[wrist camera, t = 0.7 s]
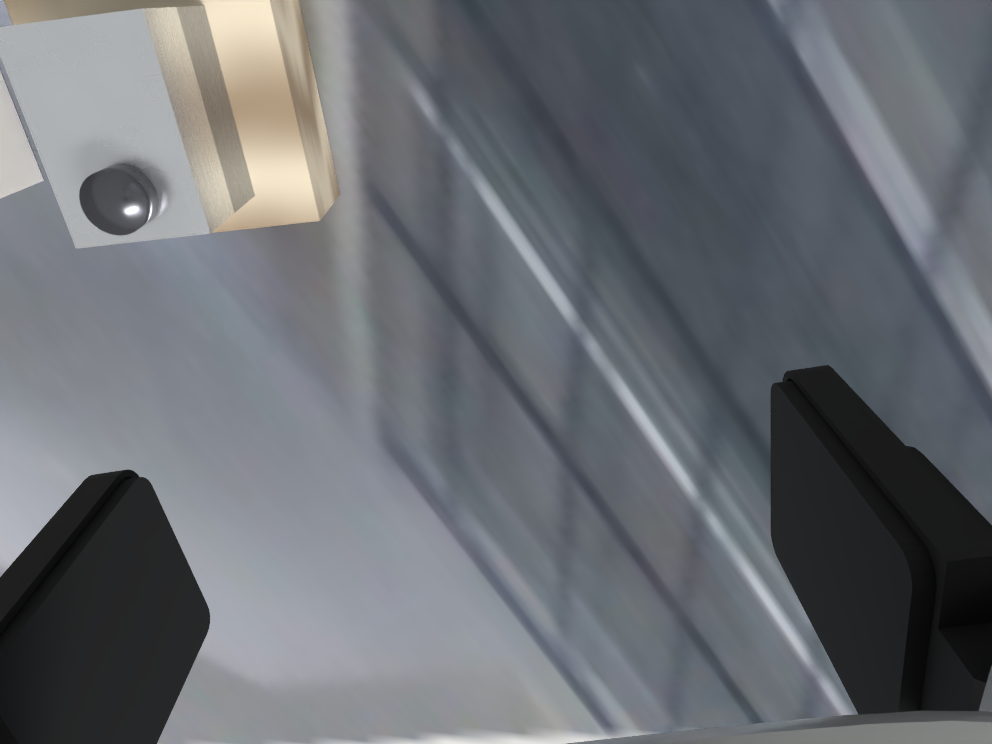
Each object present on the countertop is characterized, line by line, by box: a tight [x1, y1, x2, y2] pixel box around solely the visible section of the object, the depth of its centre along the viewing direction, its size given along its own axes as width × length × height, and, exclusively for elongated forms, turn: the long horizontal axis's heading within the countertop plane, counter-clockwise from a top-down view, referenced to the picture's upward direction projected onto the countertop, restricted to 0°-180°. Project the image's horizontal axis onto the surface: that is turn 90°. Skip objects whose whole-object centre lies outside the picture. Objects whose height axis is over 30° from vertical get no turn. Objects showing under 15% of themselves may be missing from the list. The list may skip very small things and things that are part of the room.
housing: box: [0, 6, 255, 248], centre depth 29 cm, size 8×6×7 cm
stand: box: [4, 0, 340, 233], centre depth 35 cm, size 11×11×5 cm
